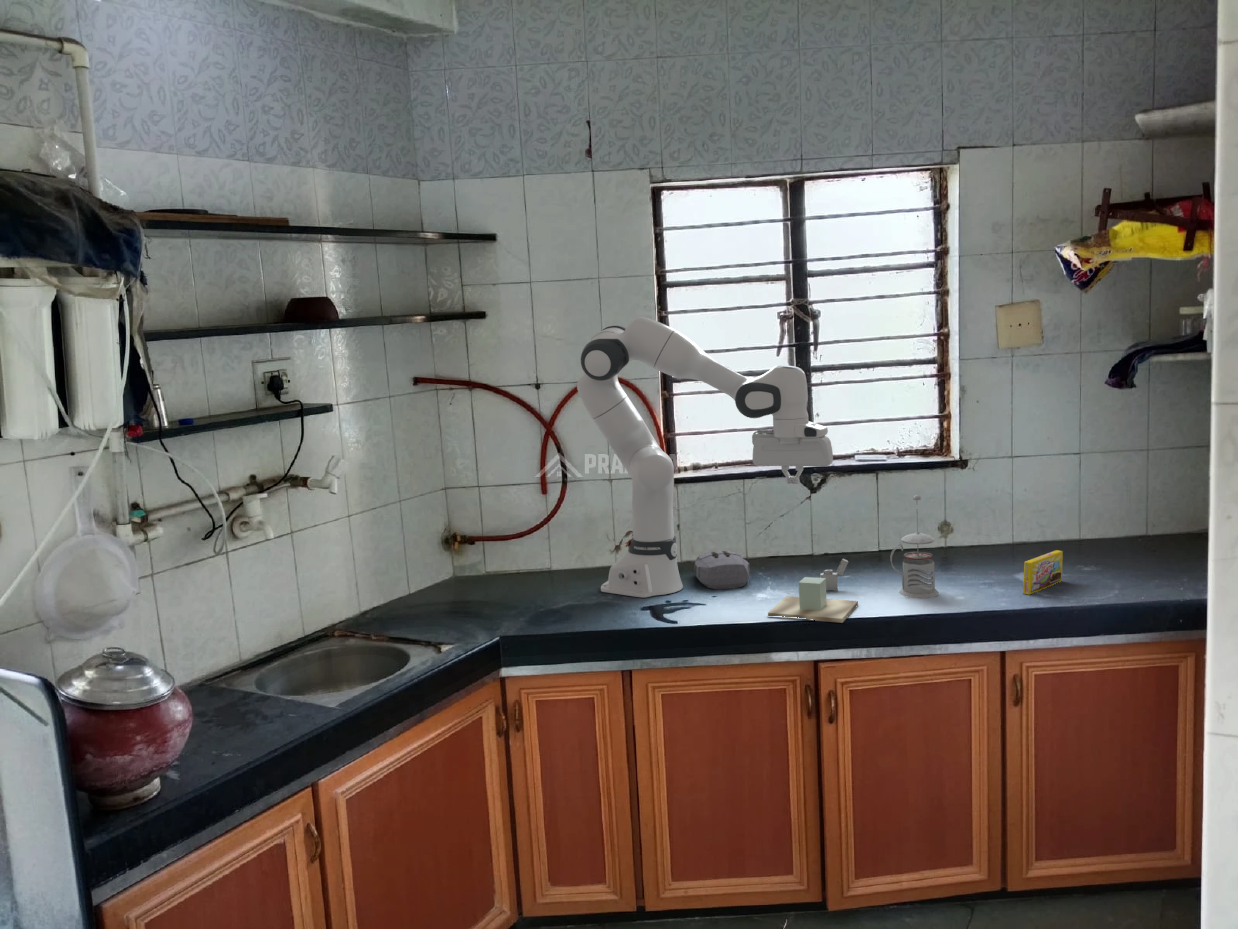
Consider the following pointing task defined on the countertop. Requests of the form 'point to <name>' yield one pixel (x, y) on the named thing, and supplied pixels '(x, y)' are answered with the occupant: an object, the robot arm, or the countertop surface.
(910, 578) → the french press
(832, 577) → the lighter
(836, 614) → the post stand
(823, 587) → the pale sage rectangular block
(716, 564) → the grey rounded bag
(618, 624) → the countertop surface
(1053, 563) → the candy box
